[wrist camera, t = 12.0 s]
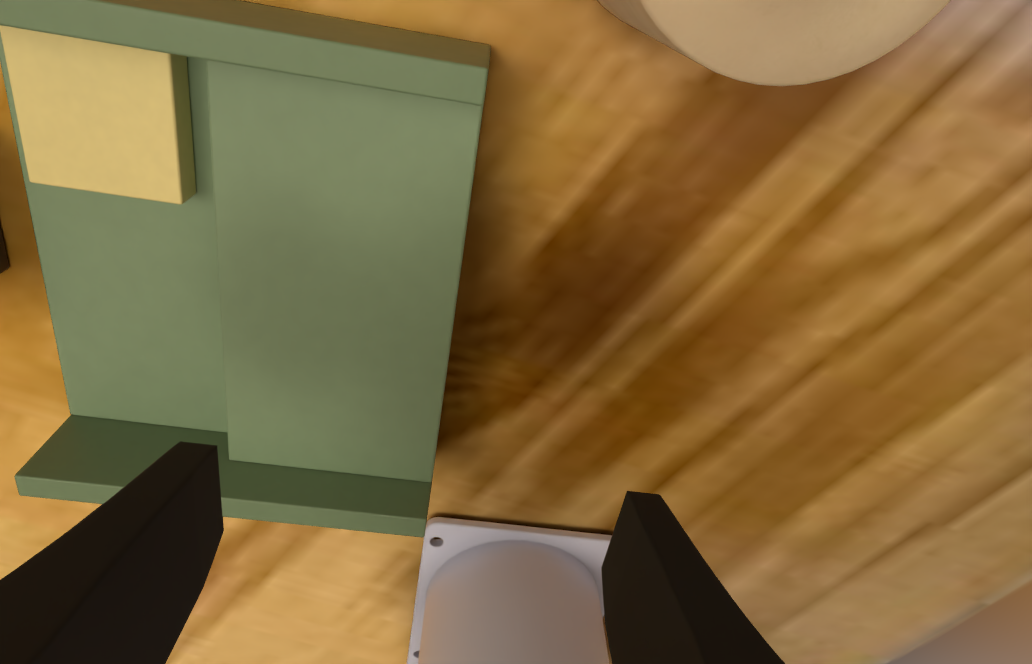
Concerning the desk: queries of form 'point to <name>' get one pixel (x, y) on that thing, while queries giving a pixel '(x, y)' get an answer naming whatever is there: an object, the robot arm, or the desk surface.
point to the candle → (779, 33)
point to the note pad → (102, 115)
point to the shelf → (267, 265)
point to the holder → (3, 255)
